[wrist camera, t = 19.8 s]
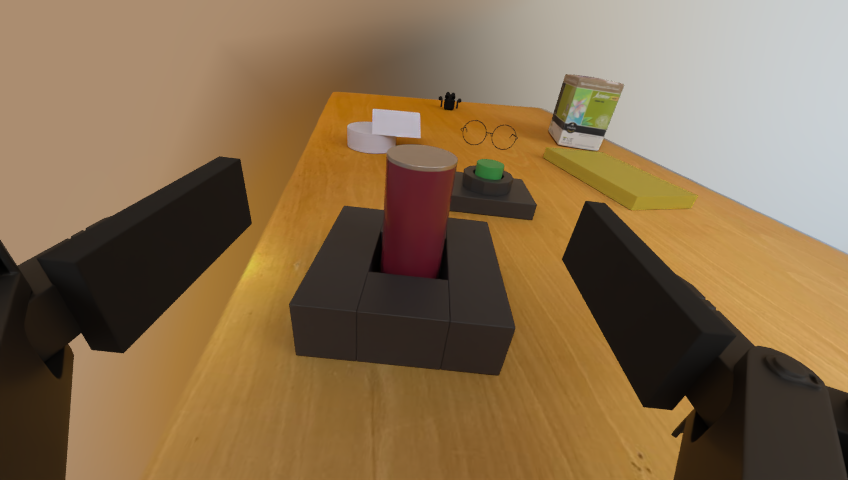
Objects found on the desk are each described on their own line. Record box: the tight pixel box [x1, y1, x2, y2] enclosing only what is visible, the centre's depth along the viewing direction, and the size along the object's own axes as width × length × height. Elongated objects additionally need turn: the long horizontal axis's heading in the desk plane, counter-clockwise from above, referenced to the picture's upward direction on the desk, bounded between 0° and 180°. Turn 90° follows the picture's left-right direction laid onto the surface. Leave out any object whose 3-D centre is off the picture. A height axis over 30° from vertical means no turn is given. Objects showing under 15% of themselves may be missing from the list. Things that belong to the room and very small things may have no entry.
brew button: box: [475, 159, 504, 180], centre depth 45 cm, size 4×4×2 cm
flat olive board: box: [543, 147, 698, 210], centre depth 61 cm, size 12×2×24 cm
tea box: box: [549, 74, 624, 151], centre depth 82 cm, size 15×10×15 cm
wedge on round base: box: [347, 109, 420, 154], centre depth 62 cm, size 9×7×13 cm
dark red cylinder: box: [381, 144, 458, 279], centre depth 25 cm, size 5×5×12 cm
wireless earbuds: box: [439, 92, 461, 110], centre depth 104 cm, size 7×2×5 cm, turn 87°
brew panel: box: [449, 166, 537, 220], centre depth 46 cm, size 12×9×4 cm
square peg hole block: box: [289, 206, 515, 375], centre depth 27 cm, size 14×14×4 cm
